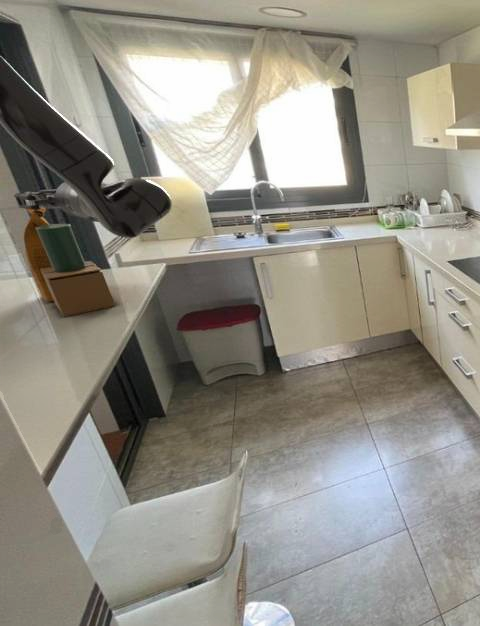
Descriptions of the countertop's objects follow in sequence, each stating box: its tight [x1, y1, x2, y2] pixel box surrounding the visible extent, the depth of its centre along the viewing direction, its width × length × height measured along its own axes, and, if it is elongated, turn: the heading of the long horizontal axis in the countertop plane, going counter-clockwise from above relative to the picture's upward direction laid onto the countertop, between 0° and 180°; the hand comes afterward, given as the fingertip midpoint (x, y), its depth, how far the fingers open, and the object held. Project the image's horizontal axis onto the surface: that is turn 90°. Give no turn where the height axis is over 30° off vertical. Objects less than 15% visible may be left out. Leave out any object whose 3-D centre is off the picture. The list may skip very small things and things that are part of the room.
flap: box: [44, 264, 102, 279], centre depth 105 cm, size 6×9×1 cm, turn 142°
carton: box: [40, 260, 116, 317], centre depth 108 cm, size 12×9×9 cm
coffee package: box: [23, 206, 54, 302], centre depth 113 cm, size 10×12×22 cm
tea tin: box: [36, 223, 86, 272], centre depth 104 cm, size 5×5×10 cm
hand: (57, 194), depth 93 cm, fingers open, 8 cm apart
